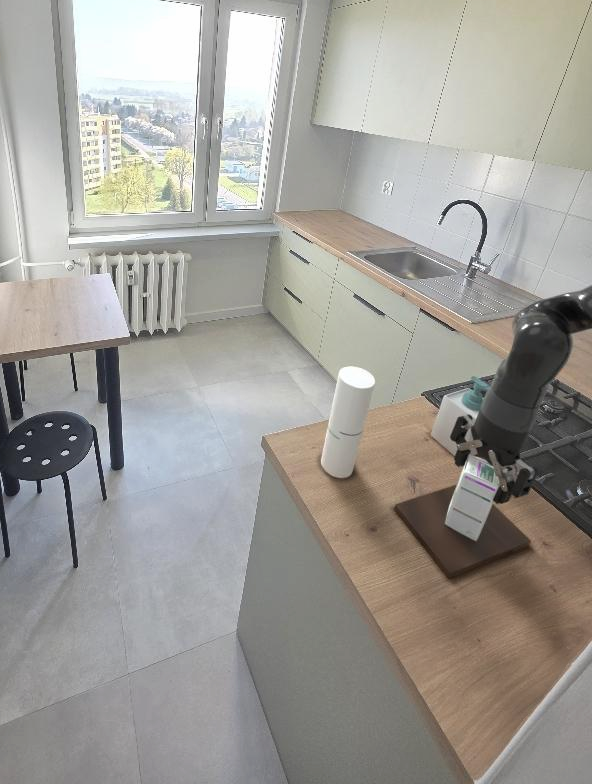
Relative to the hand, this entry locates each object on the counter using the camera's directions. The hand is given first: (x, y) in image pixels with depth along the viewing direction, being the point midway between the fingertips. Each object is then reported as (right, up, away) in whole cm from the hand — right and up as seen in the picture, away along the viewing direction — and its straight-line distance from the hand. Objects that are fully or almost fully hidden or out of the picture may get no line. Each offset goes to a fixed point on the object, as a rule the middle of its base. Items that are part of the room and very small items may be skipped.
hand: (478, 482), depth 78 cm
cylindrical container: (-21, -5, +18) cm, 28 cm away
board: (-1, -12, +5) cm, 13 cm away
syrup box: (0, -10, +5) cm, 11 cm away
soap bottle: (+11, -3, +25) cm, 28 cm away
